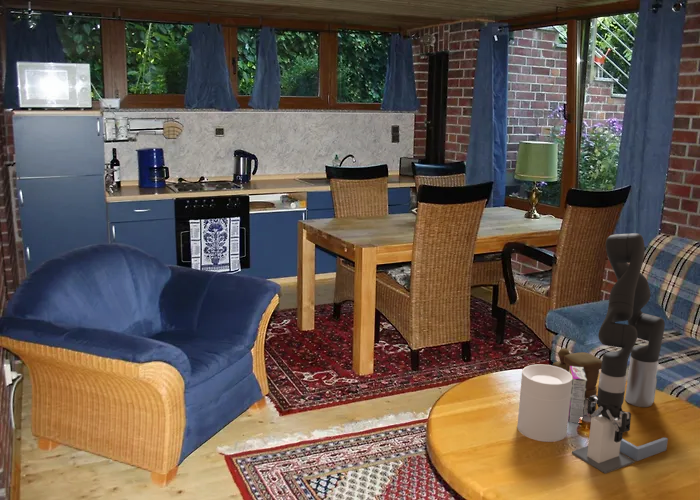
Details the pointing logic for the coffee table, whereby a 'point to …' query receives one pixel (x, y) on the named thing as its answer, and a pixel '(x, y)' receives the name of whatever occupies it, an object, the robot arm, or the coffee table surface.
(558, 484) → the coffee table surface
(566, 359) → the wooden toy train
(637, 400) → the robot arm
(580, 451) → the rubber pad
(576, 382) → the candy bar box
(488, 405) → the coffee table surface
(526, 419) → the canister
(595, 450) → the packed carton
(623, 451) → the frame
